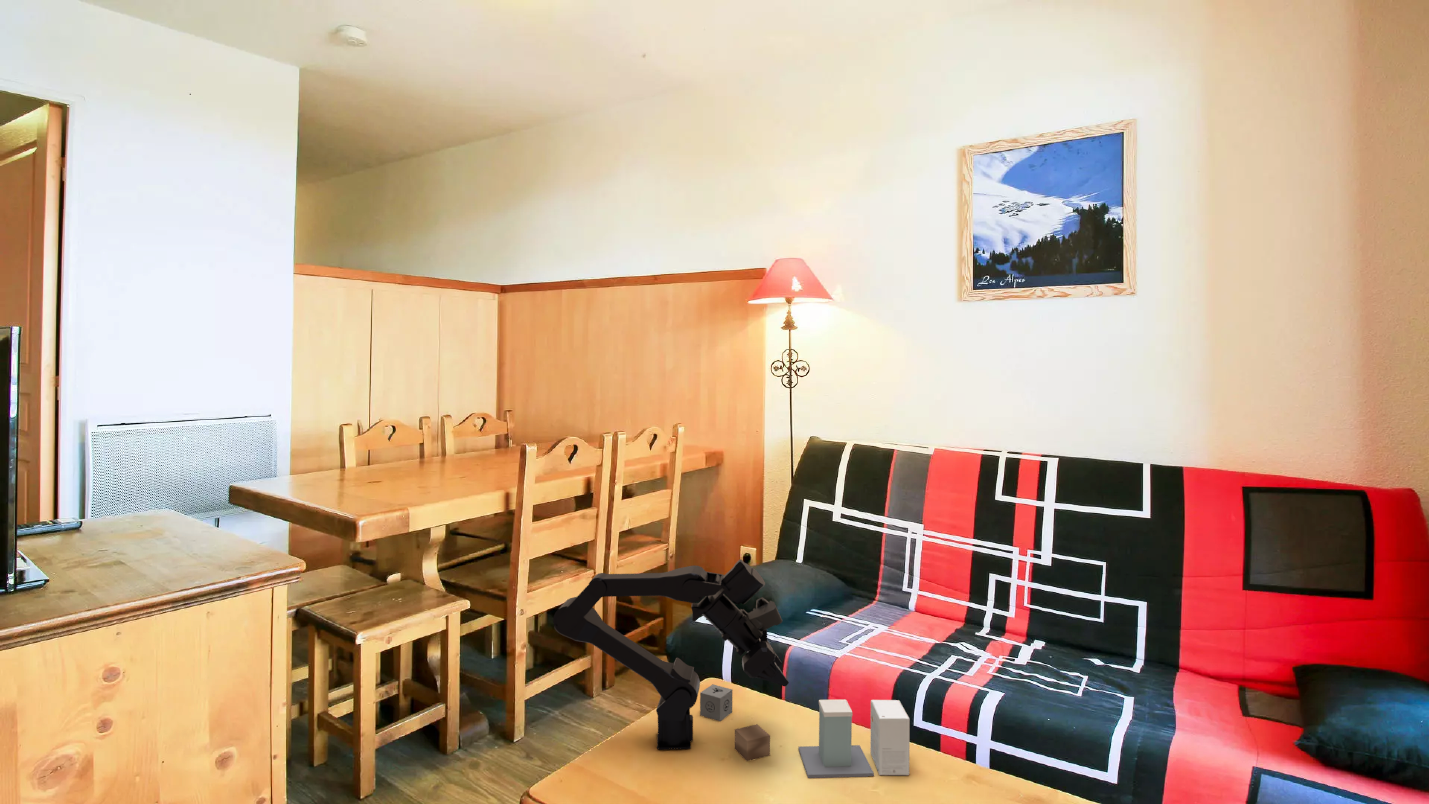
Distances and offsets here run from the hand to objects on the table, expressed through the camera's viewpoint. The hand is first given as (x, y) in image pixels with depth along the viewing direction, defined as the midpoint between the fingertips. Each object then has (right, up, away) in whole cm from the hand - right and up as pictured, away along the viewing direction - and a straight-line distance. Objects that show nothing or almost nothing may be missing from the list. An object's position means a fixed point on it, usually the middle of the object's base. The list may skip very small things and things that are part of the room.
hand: (783, 674), depth 141 cm
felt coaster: (+9, -14, -7) cm, 18 cm away
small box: (+19, -14, -7) cm, 25 cm away
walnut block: (-6, -14, -3) cm, 15 cm away
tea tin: (+9, -13, -7) cm, 17 cm away
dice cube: (-13, -13, +13) cm, 23 cm away
